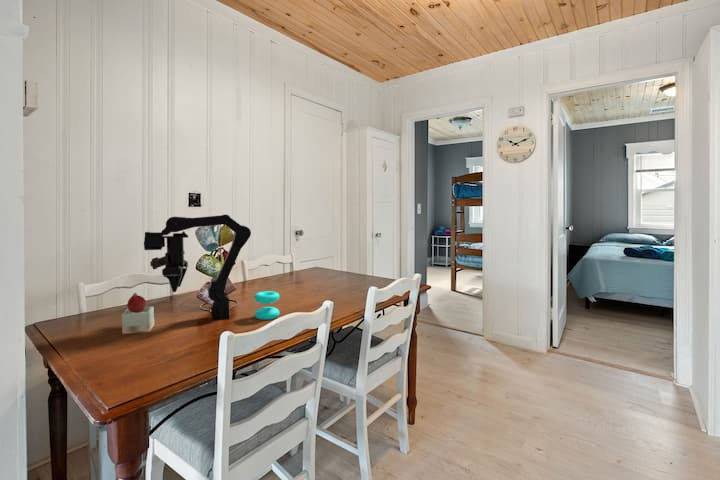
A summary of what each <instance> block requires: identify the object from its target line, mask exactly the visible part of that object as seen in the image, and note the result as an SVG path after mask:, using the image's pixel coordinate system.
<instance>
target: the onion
mask: <svg viewBox="0 0 720 480" xmlns="http://www.w3.org/2000/svg"><path fill="white" fill-rule="evenodd" d="M126 306H127V308H128V309H129V310H130V311H131V312H134V313H141V312H142V310H143V309H144V308H145V307H147V301H146V299H145V298H144V297H143V296H141V295H138V293H136V292H135V293H133V294H132V296H131V297H130V298H129V299H128V301H127V303H126Z"/></svg>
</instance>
